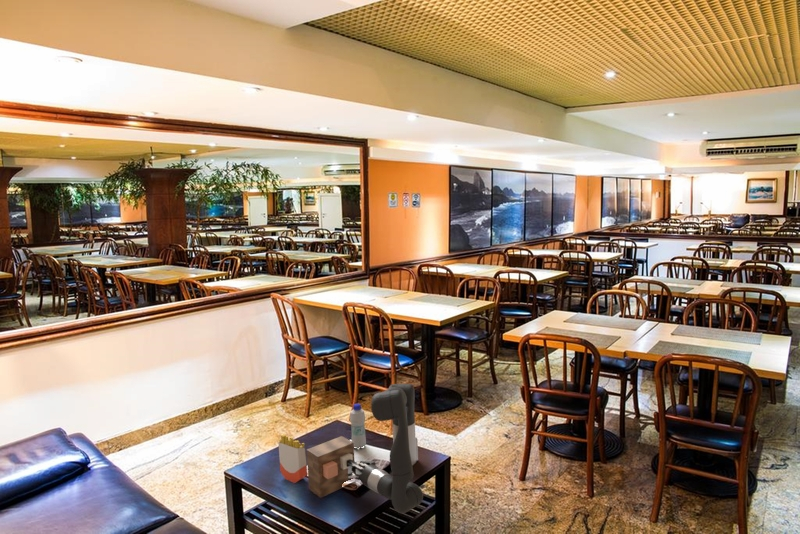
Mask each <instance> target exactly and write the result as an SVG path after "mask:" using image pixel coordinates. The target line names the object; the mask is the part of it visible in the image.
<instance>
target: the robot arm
mask: <svg viewBox="0 0 800 534" xmlns="http://www.w3.org/2000/svg"><path fill="white" fill-rule="evenodd" d="M415 394H416V393H415V387H414V384H412V383H393V384H390V386H389V387H388V388H386V389H385V390H383V391H382V392H381V391H379V392H376V393H374V395H373V396H372V398H371V402H370V408H371V413H372V416H373V417H374V419H375V420H377V421H379V422H384V421H392V439H393V440H392V441H393V443H392V445H391V448H390V450H389V451H390V452H389V464H390V469H391V474H389V473H388V472H387V471H386V470H384V469H381V467H378V466H377V465H376V464H377V463H376V461H374V460H373V461H371V460H360V461H356V460H355V461H353V460H351V459H349V460H347V462H346V464H347V467H348V480H351V479H352V478H355V479H356V480H357V481H360V483H362V485H364V486H365V487H367V488H368V489H370V490H371V491H373V492H374V493H377V494H379V495H381V496H382V497H383V498H385V499H387V500H391V504H392V506H393V509H394V510H395V511H396V512H398V513H399V514H405V513H408V512H409V511H410V510H413V509H414V508H416V507H418V506H419V505H420V504H421V503H422V502H423V500H424V493H423V491H422V489H421V487H420V486H419V485H417V484H416V483H414V482H412V479H413V478H414V474H415V473H414V469H413V466H414V465H415V464H416V463H417V461H419V449H418V448H419V447H418V446H419V443H418V441H419V440H418V437H416V418H415V397H416V395H415ZM352 471H353V472H354V473H355V474H354V473H353V472H352Z"/></svg>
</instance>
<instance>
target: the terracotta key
mask: <svg viewBox="0 0 800 534" xmlns="http://www.w3.org/2000/svg"><path fill="white" fill-rule="evenodd" d="M337 475H338V467H337V463H335V462H334V461H332V460H331V461H329V462H326V463H324V464H322V476H324V477H325V478H327V479H330V478H332V477H334V476H337Z"/></svg>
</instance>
